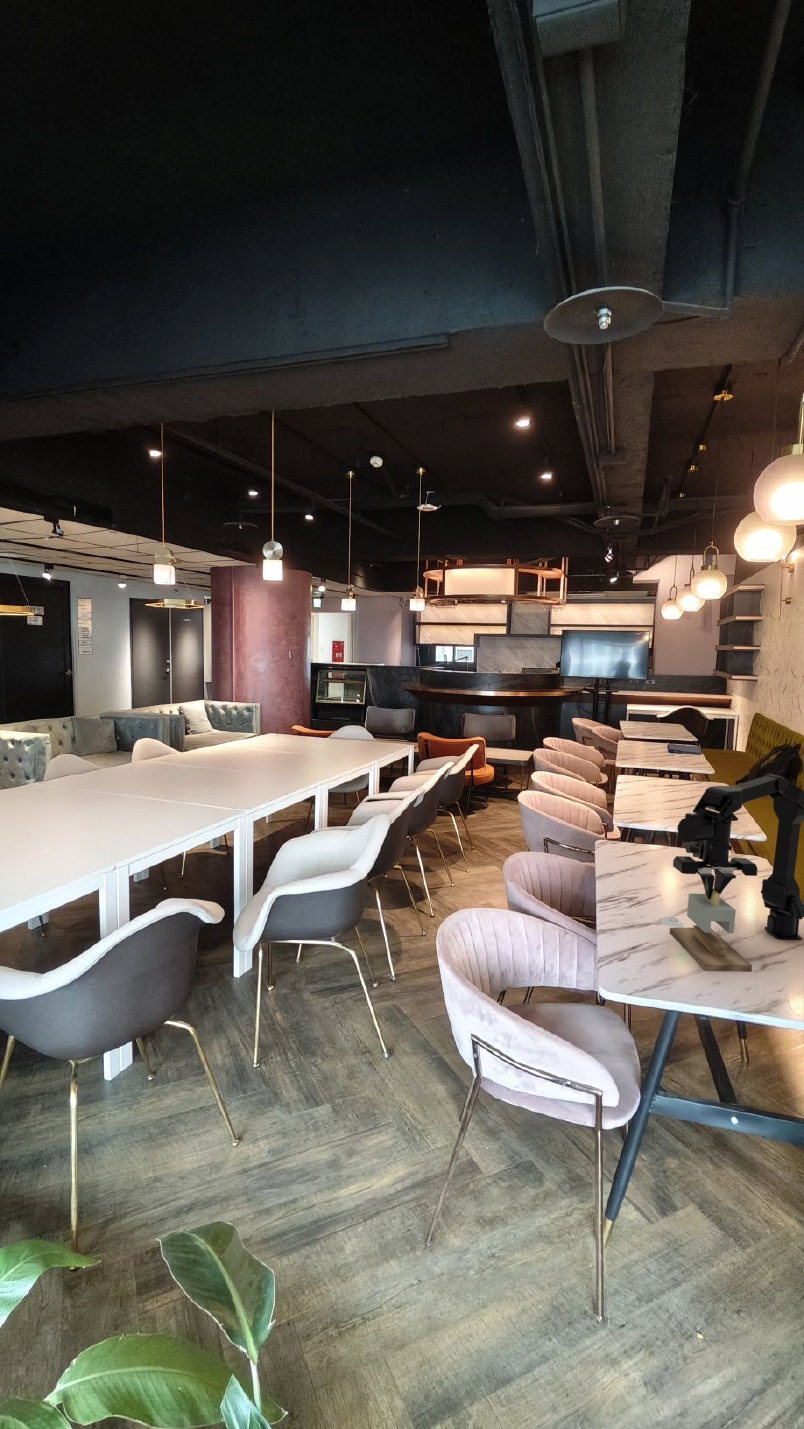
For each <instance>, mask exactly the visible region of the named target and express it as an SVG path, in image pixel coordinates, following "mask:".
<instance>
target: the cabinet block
mask: <svg viewBox="0 0 804 1429" xmlns="http://www.w3.org/2000/svg"><path fill="white" fill-rule="evenodd" d="M720 896H721V894H719V893H718V892H717V891H716V890H714V888H713V892H712V896H711V899H708V898H707V895H706V892H705V891H704V893H688V898H687V899H688V900H687V912H686V913H687V914H686V916H687V918H689V919H690V920H691V921H692V922H693V923H694V924H695V925H697V926H698V927H700V928H701V929H702V930H703V931H704V932H705V933H710V928H711V926H712V922H715V923H716V924H718V925H719V927H721V928H722V929H723V930H724V931H725V932H727V934H732V935H733V934H734V933H735V921H736V909H735V908H734V907H733V906H731V905H730V904H729V903H728V902H726V901H725V900H724V899H722V898H721V897H720Z"/></svg>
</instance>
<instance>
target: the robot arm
mask: <svg viewBox="0 0 804 1429" xmlns="http://www.w3.org/2000/svg"><path fill="white" fill-rule="evenodd" d="M766 796H768V797H769V798H770V799H772V809H773V812H774V814H775V817H776V818H777V821H778V823H777V832H776V839H775V840H776V841H775V849H774V857H773V866H772V873H771V874H770V875H769V877H767V878H764V879H763V880H762V883H761V890H760V894H761V899H762V900H763V906H764V908H766V909H769V914H767V919H766V921H767V923H766V926H764V930H765V931H767V932H768V933H770V934H771V935H772V936H773V937H774V938H776V939H777V940H802V939H803V938H802V936H801V935H800V934H799V928H800V920H803V918H804V902H802V900H801V898H800V897H801V894H800V893H801V891H800V887H799V884H798V883H797V881H796V879H795V875H796V873H795V872H796V867H797V866H796V864H797V856H798V848H799V840H800V831H801V824H802V823H803V822H804V790H803V789H802V788H800V787H798V786H796V785H795V784H793V783H792V782H790V781H789V780H788V779H787V778H785V777H784V776H781V775H776V774H771V773H767V774H765V775H763V776H760V777H757V778H754V779H752V780H749V781H746V782H742V783H738V784H736V785H729V786H728V785H714V786H709V787H707V788H706V789H705V791H704V792H703V794H702V795H701V797H700V799H699V800H698V802H697V803H696V805H695V807H694V808H693V810H692V813H690V812H688V813H687V812H685V814H684V815H685V816H684V818H682V819H681V820H680V821H679V823H678V825H677V834H678V835H679V837H680V839H681V840H682V841H684V842H685V852H686V853H687V854H692V857H691V856H686V855H684V856H682V855H677V856H675V857H674V858H673V861H672V867H673V868H674V869H675V870H677V871H679V872H680V873H681V874H682V875H683V874H684V875H696V874H697V875H699V877H700V879H701V881H702V885H703V889H704V893H705V892H706V895H707V898H708V899H711V896H712V892H713V889H714V890H716V891H717V892H718V893H719V894H720V895H721V894H722V893H723V891H724V890H725V888H726V887H727V886H728V884H730V882H731V881H732V880H734V879H736V878H737V875H735V874H734V871H741V873H742V874H743V875H744V876H746V877H747V876H748V877H749V876H751V877H757V876H758V870H759V869H758V865H757V864H756V863H754V862H753V861H751V860H749V859H748V858H746V857H732V858H731V859H730V861H729V854H730V851H732V850H733V845H732V844H731V842H730V841H731V833H732V831H731V830H732V822H737V821H739V818H738V817H737V816H736V815H735V812H737V811H740V810H741V809H742V807H743V805H744V804H745V803H749V802H751V801H754V800H758V799H762V798H763V797H766ZM697 842H700V843H697ZM693 858H697V859H699V860H695V859H693ZM712 870H713V872H714V874H712Z"/></svg>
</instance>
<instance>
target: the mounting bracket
mask: <svg viewBox="0 0 804 1429" xmlns="http://www.w3.org/2000/svg"><path fill="white" fill-rule="evenodd" d="M659 923H660V924H662V925H664V926H670V927H672V928H684V925H685V923H684V922H680V920H679V918H677V917H674V916H669V917H667V918H664V917H661V919H660V921H659Z"/></svg>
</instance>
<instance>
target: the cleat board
mask: <svg viewBox="0 0 804 1429" xmlns="http://www.w3.org/2000/svg"><path fill="white" fill-rule="evenodd" d="M692 926H693V927H683V928H678V927H669V934H670V935H671V936H672V937H673V938H674V939H675V940H676V941H677V942H678V944H680V945H681V947H682V948H683V949H684V950H685V951H686V952H687V953H688V954H689V955H690V956H691V957H692V958H693V959H694V960H695V962H696V963H698V965H699V966H701V968H702V969H703V970H704V971H705V972H706V971H707V972H708V971H710V972H714V971H715V972H752V969H753V965H752V963H751V962H749V961H748V960H747V959H746V958H744V956H743V955H741V954H740V953H739V952H738V951H737V950H736V949H735V948H734V947H733V946H732V945H730V944H729V943H728V942H727V941H726V940H725V939H724V938H723V937H721V936H720V935H719V934H718V933H717V932H716V931H715V930H714V929H712V928H711V927H710V933H705V932H704V931H703V930H702V929H701V928H700V927H698V926H697V925H696V924H695V925H692Z"/></svg>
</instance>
